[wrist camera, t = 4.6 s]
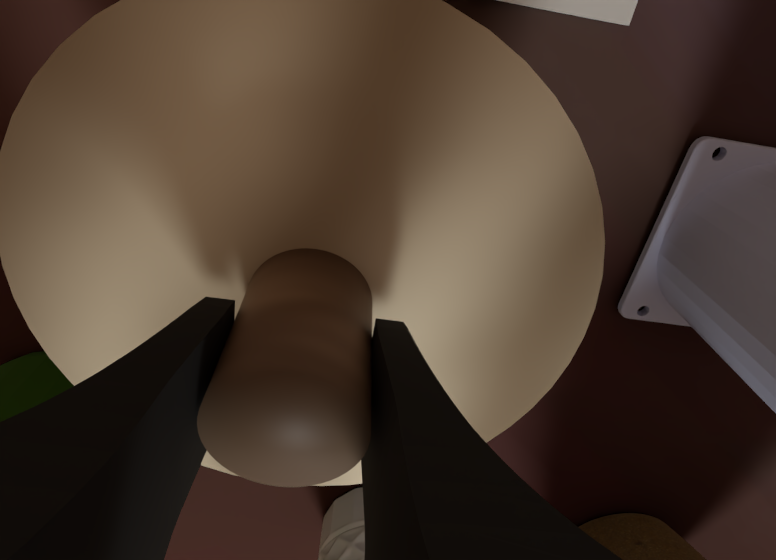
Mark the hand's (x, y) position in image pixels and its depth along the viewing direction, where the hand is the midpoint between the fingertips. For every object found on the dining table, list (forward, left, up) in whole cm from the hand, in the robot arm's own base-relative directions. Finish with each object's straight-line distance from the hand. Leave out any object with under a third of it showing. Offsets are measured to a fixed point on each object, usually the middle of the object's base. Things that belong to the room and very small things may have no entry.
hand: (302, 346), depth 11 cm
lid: (0, 0, -2) cm, 2 cm away
